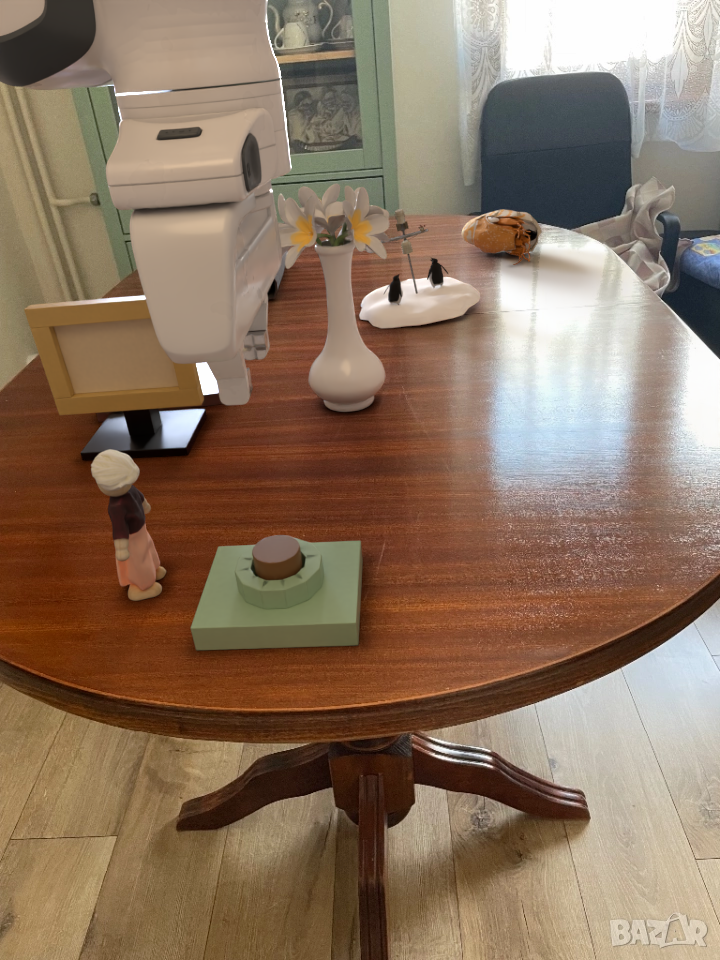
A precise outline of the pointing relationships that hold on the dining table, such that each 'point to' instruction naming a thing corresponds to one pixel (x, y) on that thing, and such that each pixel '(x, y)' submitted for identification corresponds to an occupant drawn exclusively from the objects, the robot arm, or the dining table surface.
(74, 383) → the picture frame
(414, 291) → the figurine
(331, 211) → the flower vase
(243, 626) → the switch block
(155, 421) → the stand
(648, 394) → the dining table surface
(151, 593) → the grandmother figurine
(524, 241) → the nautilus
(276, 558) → the button
